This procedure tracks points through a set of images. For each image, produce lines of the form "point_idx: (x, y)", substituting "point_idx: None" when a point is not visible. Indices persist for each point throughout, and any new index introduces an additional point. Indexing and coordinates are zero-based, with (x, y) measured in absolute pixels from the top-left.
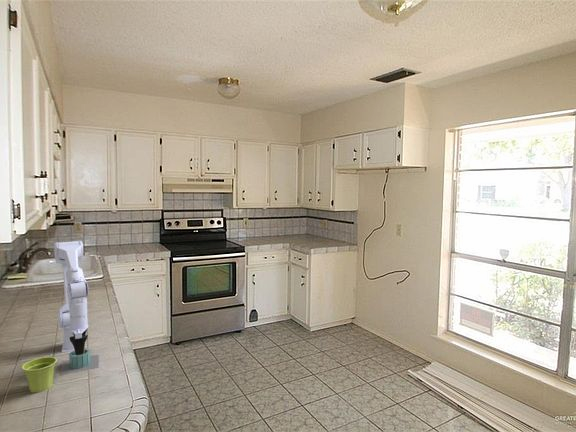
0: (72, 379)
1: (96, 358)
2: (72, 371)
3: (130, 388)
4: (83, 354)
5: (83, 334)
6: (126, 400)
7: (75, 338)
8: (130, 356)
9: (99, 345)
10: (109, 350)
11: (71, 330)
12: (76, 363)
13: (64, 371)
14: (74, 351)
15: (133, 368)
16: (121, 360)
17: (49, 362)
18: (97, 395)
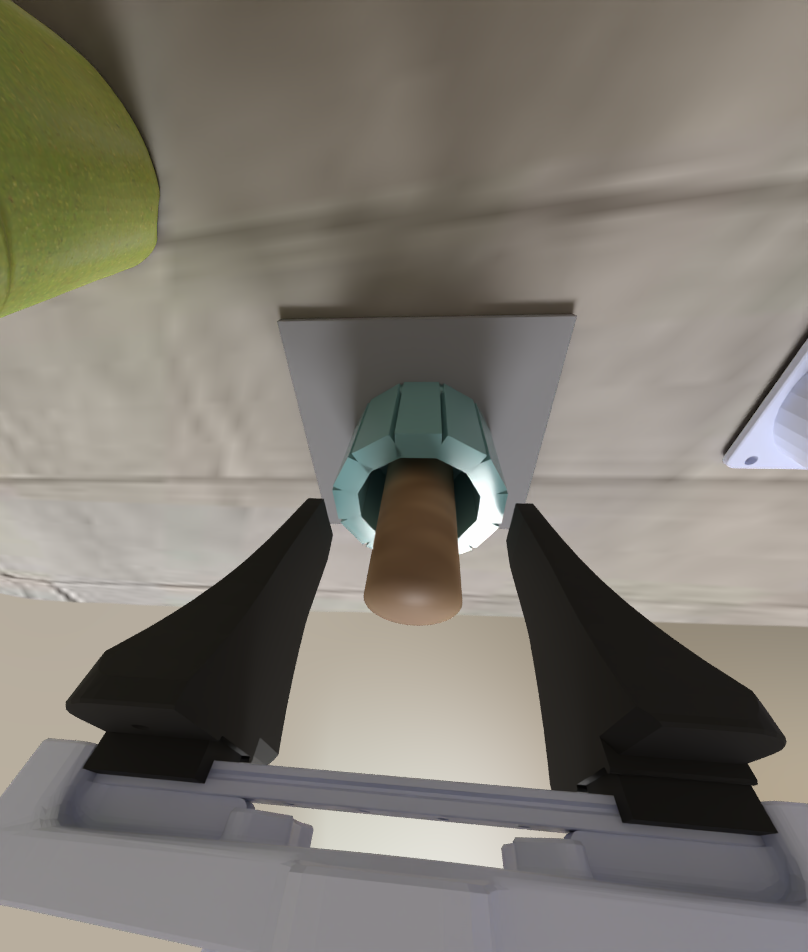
0: (221, 403)
1: None
2: (322, 403)
3: (127, 584)
4: (356, 525)
5: (540, 668)
6: (41, 569)
7: (38, 748)
8: None
9: (685, 534)
10: None
11: (178, 909)
12: (348, 447)
13: (342, 348)
14: (468, 471)
15: None
16: None
17: (3, 251)
18: (55, 503)
